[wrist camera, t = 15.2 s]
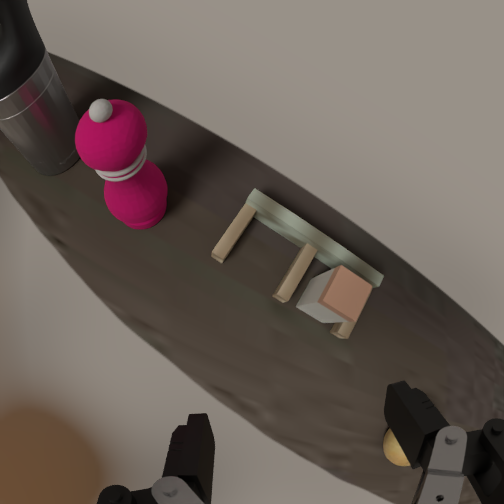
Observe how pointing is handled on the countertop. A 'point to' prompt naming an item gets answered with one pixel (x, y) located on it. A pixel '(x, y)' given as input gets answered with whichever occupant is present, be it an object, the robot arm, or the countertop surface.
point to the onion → (394, 450)
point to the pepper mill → (122, 162)
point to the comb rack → (303, 237)
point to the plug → (335, 296)
